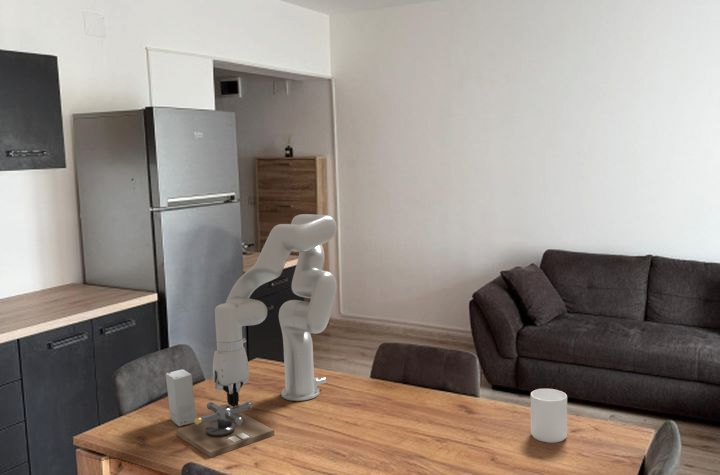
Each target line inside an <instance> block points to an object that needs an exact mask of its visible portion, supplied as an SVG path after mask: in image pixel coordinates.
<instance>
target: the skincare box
mask: <svg viewBox="0 0 720 475" xmlns="http://www.w3.org/2000/svg"><path fill="white" fill-rule="evenodd" d="M165 379H166V380H165V381H166V382H165V383H166V389H167V398H168V407H169V408H168V409H169V418H170V420H171V421H172V422H173V423H174V424H175V425H177V426H178V427H183V426H186V425H191V424H195V423H194V420H195V419H196V418H197V412H196V403H195V394H194V385H193V384H194V383H193V376H192V373H190V372H188V371H186V370H185V369H177V370H173V371H170V372H166V373H165Z"/></svg>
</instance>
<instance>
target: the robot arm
mask: <svg viewBox="0 0 720 475" xmlns="http://www.w3.org/2000/svg"><path fill="white" fill-rule="evenodd" d="M335 220H336V219H334V218H333V217H332V216H330V215H327V214H311V213H310V214H308V213H305V214H303V213H302V214H298V215H295V216H294V217H293V218H292V220H291V223H280V224H279V223H278V224H277V225H274V226H273V228H272V229H271V230H270V232H269V234H268V236H267V239H266V241H265V243H264V245H263V247H262V249H261V252H260V253H259V255H258V257H257V260H256V262H255V263H254V264H253V265H252V266H251V267H250V268H248V270H246V271H245V272H244V273H243V274H242V275H241V276H240V277H239V278H238V280H236V282H235V283H234V284H233V286H232V288H231V290H230V292H229V293H228V296H227V298H226V301H225V302H224V303H220V304H218V305H216V307H215V308H214V319H215V320H214V321H215V322H214V324H215V337H216V350H215V351H214V352H213V353H214V354H213V360H212V381H213V383H215V386H214V389H215V390H216V391H225V393H226V399H227V404H228V406H230V407H235V406H238V405H239V401H240V398H239V397H240V396H239V393H240V391H241V388H242V387H243V385H245V384H246V383H249V376H250V368H249V361H248V356H247V352H246V348H245V347H244V343H246V342H247V339H246V338H245V337H243V328H242V327H247V326H256V325H259V324H261V323H263V322H264V321H265V320H266V318H267V316H268V307H267V306H266V304H265V303H264V302H263V301H260V300H259V299H253V298H250V297H251V295H252V294H253V293H254V292H255V290H257V289H258V288H259V287H260V286H263V285H264V284H266V283H268V282H271V281H273V280H275V279H277V278H279V277H280V276H281V275H282V273H283V270H284V267H285V266H286V264H287V261H288V259H289V257H290V255H291V254H292V252H295V253H296V252H298V257H297V262H296V266H295V269H294V272H293V276H292V280H291V291H292V293H293V294H294V295H296V296H298V297H301V298H307V299H310V301H303V300H298V299H290V300H287V301H285V302H283V304H282V305H281V306H280V308H279V311H278V321H279V325H280V329H281V334H282V343H283V360H284V361H283V363H284V379H285V380H284V382H285V388H283V389H282V390H281V395H280V396H281V398H282V399H284V400H287V401H291V402H292V401H295V402H300V401H302V402H303V401H308V400H311V399H314V398H316V397H318V396H319V394H320V388H319V386H320V385H322V384H325V383H327V379H326V377H320V378H319V377H317V376H316V377H315V371H314V370H315V368H314V348H313V338H312V335H311V334H314V335H315V334H320V333H322V332H324V331H325V329H326V328H327V326H328V324H329V321H330V318H331V314H332V310H333V307H334V303H335V298H336V295H337V290H338V287H337V284H338V283H337V279H336V277H335V275H333V274H332V273H331V272H330V271H328V270H324V269H323V267H324V262H325V250H324V246H323V244H326V243H328V242H330V241H331V240H332V239H333V238H334V237H335V236H336V233H337V231H338V230H337V227H338V226H337V225H338V224H337V222H336V221H335Z"/></svg>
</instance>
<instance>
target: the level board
mask: <svg viewBox="0 0 720 475" xmlns="http://www.w3.org/2000/svg"><path fill="white" fill-rule="evenodd" d="M234 415H236V416H238V417H240V418H242V420H243V422H242V424H241V425H236V424H235V423H234V425H235V430H234V432H233V433H231V434H229V435H226V436H221V437H212V436H208V435H207V434H206V427H207V426H208V425H209V424H212V423H215V422H217V419H216V420H213V421H209V422H206V423H203V424H201V425H199V426H197V425H195V424H193V425H189V426H187V427H183V428H180V429H177V430H176V435H177V437H179V438H181V439H182V440H184V441H185V442H187V444H189V445H190V446H192V447H194V448H195V449H197V450H199V451H200V452H201V453H203V454H204V455H206V456H208V457H209V458H214V457H217V456H219V455H222V454H225V453H228V452H231V451H233V450H236V449H239V448H241V447H245V446H247V445H250V444H254V443H255V442H259V441H261V440H264V439H267V438H270V437H273V436H275V430H274V429H273V428H271V427H269V426H267V425H265V424H263V423H262V422H260V421H258V420H256V419H254V418H252V417H251V416H248V415H246V414H244V413H243V412H242V411H241V412H238V413H235V414H234ZM232 423H233V422H232Z"/></svg>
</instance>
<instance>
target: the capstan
mask: <svg viewBox="0 0 720 475" xmlns="http://www.w3.org/2000/svg"><path fill="white" fill-rule="evenodd" d="M206 407H207V409H208V410H209V411H212V413H210V414H206V415H204V416H200V417H197V416H196V419H195V420H194V423H193V424H194V425H197V426H199V425H201V424H203V423H206V422H209V421H213V420H216V419H217V422H215V423H212V424H209V425H208V426H207V427H206V434H207V435H208V436H212V437H221V436H226V435H229V434H231V433H233V432H234V430H235V425H234V423H235V424H236V425H241V424H242V422H243V420H242V418H240V417H238V416H236V415H234V414H235V413H238V412H241V413H242V412H243V411H248V410H251V409H252V408H253V403H252V402H251V401H247V402H246V403H242V404H238V406H234V407H233V406H231V405H220V406H219V405H217V404H215V403H214V402H212V401H209V402H207V404H206ZM232 422H233V423H232Z"/></svg>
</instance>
